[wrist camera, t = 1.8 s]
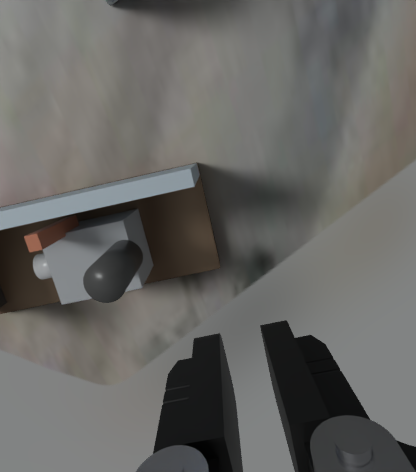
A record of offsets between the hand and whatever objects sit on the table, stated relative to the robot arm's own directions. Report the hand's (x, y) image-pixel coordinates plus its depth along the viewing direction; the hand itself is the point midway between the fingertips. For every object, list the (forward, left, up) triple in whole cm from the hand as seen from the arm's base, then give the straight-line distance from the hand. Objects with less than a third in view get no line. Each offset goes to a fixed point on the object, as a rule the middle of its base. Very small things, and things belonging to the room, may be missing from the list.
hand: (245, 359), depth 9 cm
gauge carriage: (+10, 0, -19) cm, 22 cm away
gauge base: (+12, 0, -21) cm, 24 cm away
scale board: (+12, -4, -20) cm, 23 cm away
